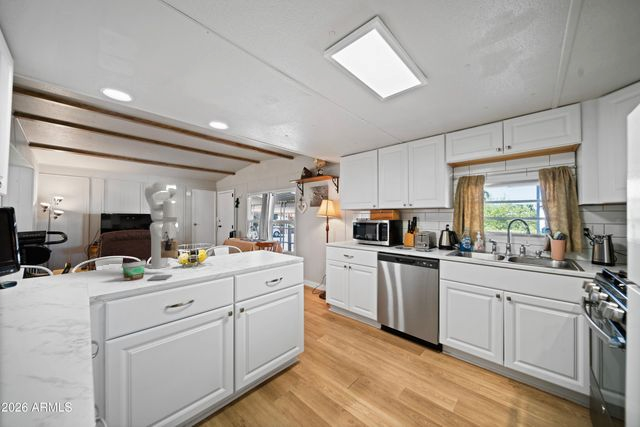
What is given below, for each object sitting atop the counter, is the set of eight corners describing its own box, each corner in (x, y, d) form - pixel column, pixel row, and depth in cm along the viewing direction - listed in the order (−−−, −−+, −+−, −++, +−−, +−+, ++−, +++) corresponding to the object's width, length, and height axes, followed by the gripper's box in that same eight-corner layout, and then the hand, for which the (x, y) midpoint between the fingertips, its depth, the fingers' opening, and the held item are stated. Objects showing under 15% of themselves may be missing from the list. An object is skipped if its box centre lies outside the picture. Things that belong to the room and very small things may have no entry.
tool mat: (154, 276, 136) (154, 275, 136) (172, 276, 138) (172, 274, 138) (147, 281, 128) (147, 279, 128) (165, 280, 129) (165, 278, 130)
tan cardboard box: (163, 256, 144) (163, 240, 144) (177, 256, 146) (177, 240, 146) (160, 258, 141) (161, 241, 141) (175, 257, 143) (175, 241, 143)
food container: (130, 282, 125) (130, 263, 125) (121, 281, 126) (121, 263, 126) (151, 276, 137) (151, 259, 137) (142, 276, 138) (143, 259, 138)
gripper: (168, 219, 150) (168, 247, 151) (156, 220, 134) (156, 252, 135) (181, 219, 152) (180, 247, 152) (171, 221, 136) (170, 252, 136)
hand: (169, 249), depth 144 cm, fingers closed on tan cardboard box, 3 cm apart
